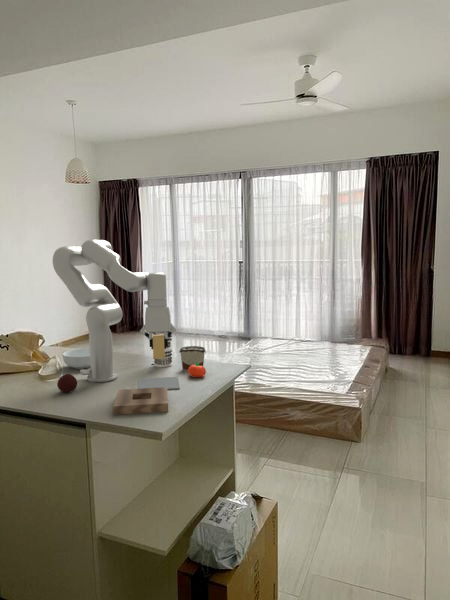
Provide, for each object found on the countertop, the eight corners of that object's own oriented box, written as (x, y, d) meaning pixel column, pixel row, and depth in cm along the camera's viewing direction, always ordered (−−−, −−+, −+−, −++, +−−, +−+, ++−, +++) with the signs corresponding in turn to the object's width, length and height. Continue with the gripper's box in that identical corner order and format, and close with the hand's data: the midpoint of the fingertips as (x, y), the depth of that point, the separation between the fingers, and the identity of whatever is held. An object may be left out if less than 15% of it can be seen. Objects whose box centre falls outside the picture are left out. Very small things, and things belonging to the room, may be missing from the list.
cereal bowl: (55, 370, 203) (54, 355, 202) (77, 361, 218) (76, 347, 218) (87, 372, 198) (86, 357, 197) (107, 363, 213) (107, 349, 213)
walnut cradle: (113, 415, 145) (113, 406, 145) (118, 397, 163) (118, 389, 163) (168, 411, 148) (168, 403, 148) (167, 394, 166) (167, 387, 165)
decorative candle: (150, 363, 213) (149, 312, 210) (168, 361, 217) (167, 311, 214) (157, 368, 204) (155, 315, 202) (175, 365, 209) (174, 313, 206)
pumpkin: (194, 374, 195) (196, 360, 195) (208, 377, 190) (209, 363, 190) (183, 376, 190) (184, 361, 190) (197, 379, 185) (198, 364, 185)
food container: (207, 366, 206) (207, 345, 205) (206, 370, 200) (205, 348, 199) (182, 366, 208) (181, 345, 206) (179, 369, 201) (179, 348, 200)
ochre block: (153, 358, 175) (152, 336, 174) (153, 356, 180) (152, 334, 179) (164, 358, 176) (164, 336, 175) (164, 355, 180) (163, 334, 179)
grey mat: (138, 391, 170) (138, 390, 170) (139, 379, 186) (139, 378, 186) (179, 389, 172) (179, 387, 172) (177, 378, 188) (177, 376, 188)
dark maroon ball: (56, 396, 165) (55, 378, 164) (58, 389, 173) (57, 372, 172) (77, 394, 167) (76, 376, 166) (78, 388, 175) (77, 371, 174)
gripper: (135, 305, 170) (137, 351, 172) (179, 303, 173) (180, 349, 175) (136, 303, 178) (137, 347, 180) (178, 301, 180) (179, 345, 182)
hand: (158, 348), depth 177 cm, fingers closed on ochre block, 4 cm apart
